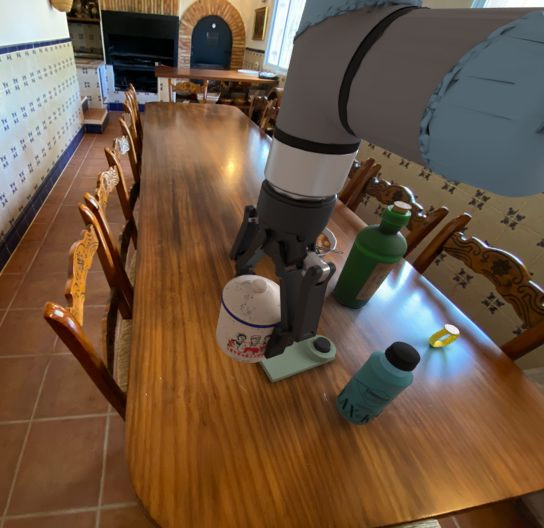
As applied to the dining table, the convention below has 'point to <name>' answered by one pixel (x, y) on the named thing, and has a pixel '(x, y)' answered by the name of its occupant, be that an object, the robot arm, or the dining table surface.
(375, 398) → the beverage bottle
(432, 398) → the dining table surface
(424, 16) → the robot arm
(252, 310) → the teacup with lid
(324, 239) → the ramen bowl
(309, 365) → the scale
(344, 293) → the bottle
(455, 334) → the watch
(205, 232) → the dining table surface
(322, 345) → the button
